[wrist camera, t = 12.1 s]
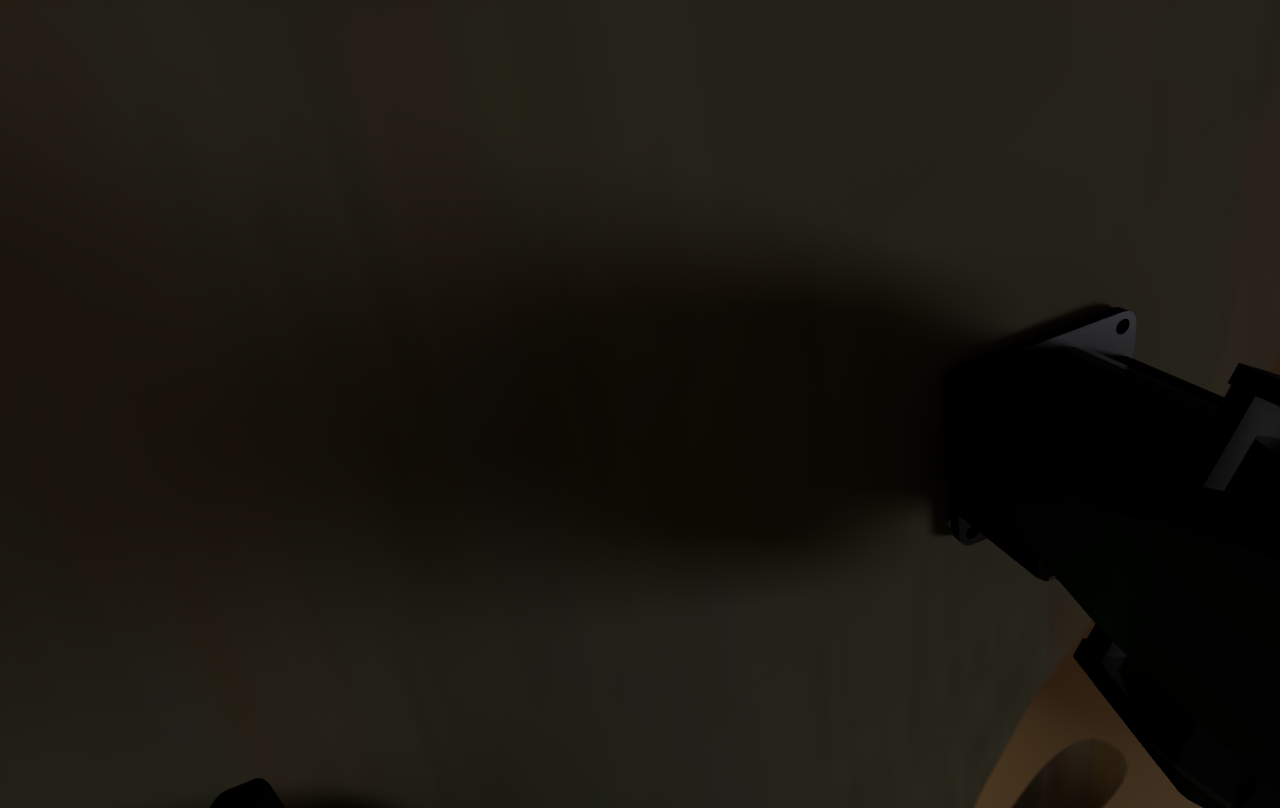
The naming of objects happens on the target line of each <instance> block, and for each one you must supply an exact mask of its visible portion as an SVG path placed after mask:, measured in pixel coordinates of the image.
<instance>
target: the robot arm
mask: <svg viewBox="0 0 1280 808" xmlns="http://www.w3.org/2000/svg"><path fill="white" fill-rule="evenodd" d="M1117 324H1118V325H1117ZM1135 333H1136V316H1135V314H1134V313H1133V312H1131V311H1128V310H1125V309H1123V308H1120V307H1115V308H1111V309H1109V310H1106V311H1103V312H1101V313H1098V314H1095V315H1092V316H1090V317H1087V318H1084V319H1082V320H1079V321H1076V322H1074V323H1071V324H1068V325H1066V326H1063V327H1060V328H1057V329H1055V330H1052V331H1049V332H1047V333H1044V334H1041V335H1039V336H1036V337H1033V338H1031V339H1028V340H1025V341H1022V342H1020V343H1017V344H1014V345H1012V346H1009V347H1006V348H1004V349H1001V350H998V351H996V352H993V353H990V354H987V355H985V356H982V357H979V358H977V359H974V360H971V361H969V362H966V363H963V364H961V365H958V366H957V367H955V368H953V370H952V371H951V372H950V373H949V374H948V376H947V379H946V384H945V390H946V413H947V436H948V441H947V445H946V448H947V471H948V493H949V507H950V508H951V528H952V534H953V536H954V537H955V538H956V539H958V540H959V541H960V542H961V543H962V544H964V545H972V544H975V543H977V542H980V541H982V540H984V539H987V538H988V539H989V540H990V541H991V542H993V543H994V544H995V545H996V546H998V547H999V548H1000V549H1001V550H1003V551H1004V552H1005V553H1006V554H1008V555H1009V556H1010V557H1011V558H1013V559H1014V560H1015V561H1016V562H1018V563H1019V564H1020V565H1021V566H1023V567H1024V568H1025V569H1026V570H1028V571H1029V572H1030V573H1031V574H1033V575H1034V576H1035V577H1037V578H1039V579H1041V580H1043V581H1049V580H1051V579H1054V578H1056V579H1057V580H1058V581H1059V582H1060V583H1061V584H1062V585H1063V586H1064V587H1065V588H1066V590H1067V591H1068V592H1069V593H1070V594H1071V595H1072V597H1073V598H1074V599H1075V600H1076V601H1077V602H1078V604H1079V605H1080V606H1081V607H1082V608H1083V609H1084V610H1085V612H1086V613H1087V614H1088V615H1089V616H1090V617H1091V619H1092V620H1093V621H1094V622H1095V623H1096V624H1095V626H1094V627H1093V629H1092V631H1091V633H1090V634H1089V636H1088V638H1087V639H1086V638H1085V639H1082V641H1081V642H1080V644H1079V646H1078V648H1077V649H1076V651H1075V653H1074V655H1073V657H1074V658H1075V660H1076V661H1077V662H1078V664H1079V665H1080V666H1081V667H1082V669H1083V670H1084V671H1085V673H1086V674H1087V675H1088V676H1089V678H1090V679H1091V680H1092V681H1093V683H1094V685H1095V686H1096V687H1097V688H1098V689H1099V691H1100V692H1101V693H1102V695H1103V696H1104V697H1105V698H1106V700H1107V701H1108V702H1109V703H1110V705H1111V706H1112V707H1113V708H1114V710H1115V711H1116V712H1117V714H1118V715H1119V716H1120V717H1121V719H1122V720H1123V721H1124V723H1125V724H1126V725H1127V726H1128V728H1129V729H1130V730H1131V732H1132V733H1133V734H1134V735H1135V737H1136V738H1137V739H1138V741H1139V742H1140V743H1141V744H1142V746H1143V747H1144V748H1145V750H1146V751H1147V752H1148V753H1149V755H1150V756H1151V757H1152V759H1153V760H1154V761H1155V762H1156V764H1157V765H1158V766H1159V767H1160V768H1161V770H1162V771H1163V772H1164V773H1165V775H1166V776H1167V777H1168V779H1169V780H1170V781H1171V782H1172V784H1173V785H1174V786H1175V787H1176V789H1177V790H1178V791H1179V792H1180V793H1181V794H1182V795H1183V796H1184V797H1185V798H1187V799H1188V800H1190V801H1191V802H1193V803H1195V804H1197V805H1199V806H1201V807H1203V808H1280V375H1279V374H1275V373H1272V372H1268V371H1265V370H1262V369H1258V368H1255V367H1251V366H1248V365H1245V364H1241V363H1239V364H1238V365H1237V367H1236V369H1235V371H1234V372H1233V374H1232V376H1231V378H1230V379H1229V381H1228V384H1231V386H1230V388H1229V390H1228V392H1227V393H1226V395H1225V397H1222V396H1220V395H1217V394H1215V393H1213V392H1210V391H1208V390H1206V389H1203V388H1201V387H1199V386H1196V385H1194V384H1191V383H1189V382H1187V381H1184V380H1182V379H1180V378H1177V377H1175V376H1173V375H1170V374H1168V373H1166V372H1163V371H1161V370H1159V369H1156V368H1154V367H1151V366H1149V365H1147V364H1144V363H1142V362H1140V361H1137V360H1135V359H1133V358H1134V345H1135ZM966 378H967V381H966V382H965V384H964V385H963V386H961V385H962V383H963V381H964V380H965V379H966ZM210 808H285V807H284V805H283V804H282V802H281V801H280V799H279V798H278V796H277V795H276V793H275V791H274V790H273V788H272V787H271V785H270V784H269V783H268V782H267V781H265V780H264V779H261V778H257V779H253V780H250V781H248V782H246V783H243V784H241V785H238V786H236V787H233V788H231V789H228V790H226V791H224V792H223V793H221V794H220V795H219V796H218V797H217V798H216V799H215V801H214V802H213V804H212V805H211V807H210Z"/></svg>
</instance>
